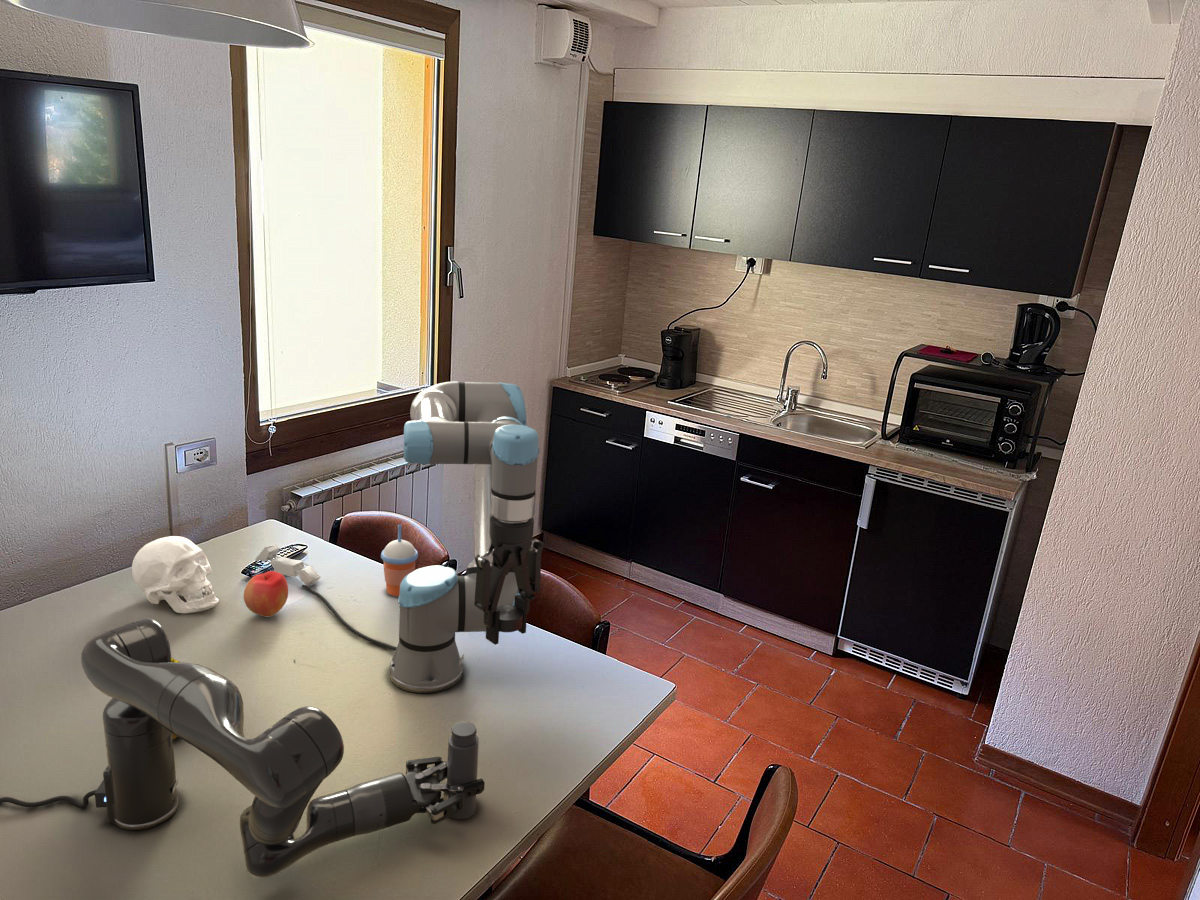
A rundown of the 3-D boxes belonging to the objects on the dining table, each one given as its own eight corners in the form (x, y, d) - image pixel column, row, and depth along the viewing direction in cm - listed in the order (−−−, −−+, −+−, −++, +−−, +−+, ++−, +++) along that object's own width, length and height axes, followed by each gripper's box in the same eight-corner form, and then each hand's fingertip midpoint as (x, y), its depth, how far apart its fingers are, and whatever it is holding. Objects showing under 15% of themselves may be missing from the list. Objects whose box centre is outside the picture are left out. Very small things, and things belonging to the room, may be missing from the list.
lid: (486, 629, 150) (486, 617, 149) (496, 614, 155) (497, 602, 155) (516, 634, 149) (517, 622, 148) (526, 619, 154) (526, 608, 154)
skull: (197, 623, 194) (195, 558, 190) (119, 603, 200) (115, 540, 196) (237, 600, 207) (236, 539, 203) (163, 582, 212) (160, 522, 208)
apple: (273, 600, 207) (272, 562, 204) (297, 613, 202) (296, 575, 199) (237, 614, 200) (234, 575, 197) (261, 628, 194) (259, 588, 191)
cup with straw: (408, 601, 212) (409, 534, 207) (374, 595, 213) (374, 529, 208) (423, 586, 220) (424, 521, 215) (390, 580, 222) (390, 516, 217)
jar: (481, 811, 144) (485, 731, 140) (456, 823, 141) (459, 741, 136) (465, 795, 148) (468, 716, 143) (440, 806, 145) (443, 726, 140)
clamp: (253, 565, 223) (254, 542, 221) (265, 560, 226) (266, 537, 224) (309, 593, 215) (310, 569, 213) (320, 588, 218) (321, 564, 216)
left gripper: (391, 813, 128) (495, 781, 137) (364, 757, 140) (461, 731, 149) (391, 854, 131) (493, 820, 139) (364, 795, 142) (460, 767, 151)
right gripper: (539, 498, 155) (532, 611, 162) (454, 520, 142) (450, 642, 149) (567, 511, 150) (558, 628, 157) (481, 535, 137) (476, 661, 144)
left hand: (476, 774), depth 144 cm, fingers closed on jar, 5 cm apart
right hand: (505, 635), depth 153 cm, fingers closed on lid, 5 cm apart
